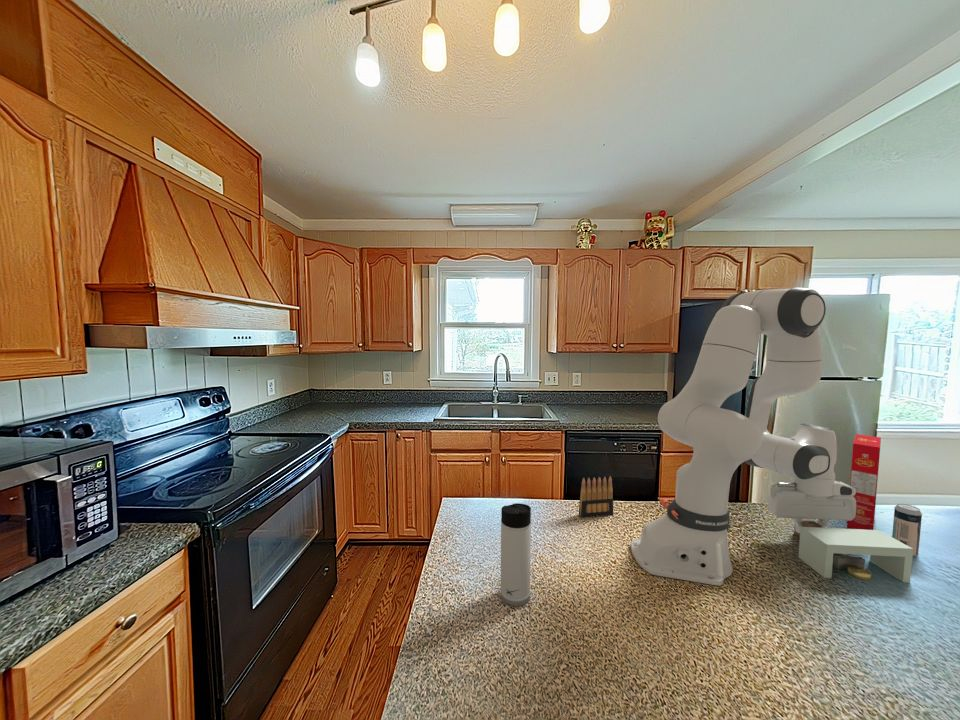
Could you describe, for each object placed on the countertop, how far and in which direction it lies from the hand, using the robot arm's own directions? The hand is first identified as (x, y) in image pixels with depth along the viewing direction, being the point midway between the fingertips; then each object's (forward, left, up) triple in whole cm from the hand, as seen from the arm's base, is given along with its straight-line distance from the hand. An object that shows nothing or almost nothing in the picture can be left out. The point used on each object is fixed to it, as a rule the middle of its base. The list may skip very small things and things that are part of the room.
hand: (808, 532), depth 103 cm
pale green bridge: (0, -13, -2) cm, 13 cm away
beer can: (+20, -4, -2) cm, 21 cm away
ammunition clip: (-55, +9, -2) cm, 56 cm away
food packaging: (+23, +11, -2) cm, 26 cm away
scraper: (0, -5, -2) cm, 5 cm away
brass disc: (0, -15, -2) cm, 15 cm away
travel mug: (-80, -30, -2) cm, 85 cm away
